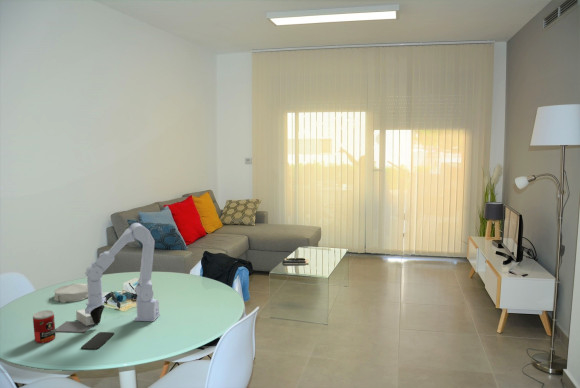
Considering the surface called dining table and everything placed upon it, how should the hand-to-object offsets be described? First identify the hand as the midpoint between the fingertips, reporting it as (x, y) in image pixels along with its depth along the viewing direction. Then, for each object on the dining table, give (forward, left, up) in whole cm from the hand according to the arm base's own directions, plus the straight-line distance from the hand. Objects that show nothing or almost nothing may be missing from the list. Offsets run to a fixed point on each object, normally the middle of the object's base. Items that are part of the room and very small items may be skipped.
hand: (97, 323), depth 198 cm
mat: (+10, 0, -2) cm, 10 cm away
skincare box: (+3, -2, 0) cm, 3 cm away
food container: (+32, -38, -3) cm, 50 cm away
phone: (-7, +12, -3) cm, 14 cm away
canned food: (+16, +12, -2) cm, 20 cm away
